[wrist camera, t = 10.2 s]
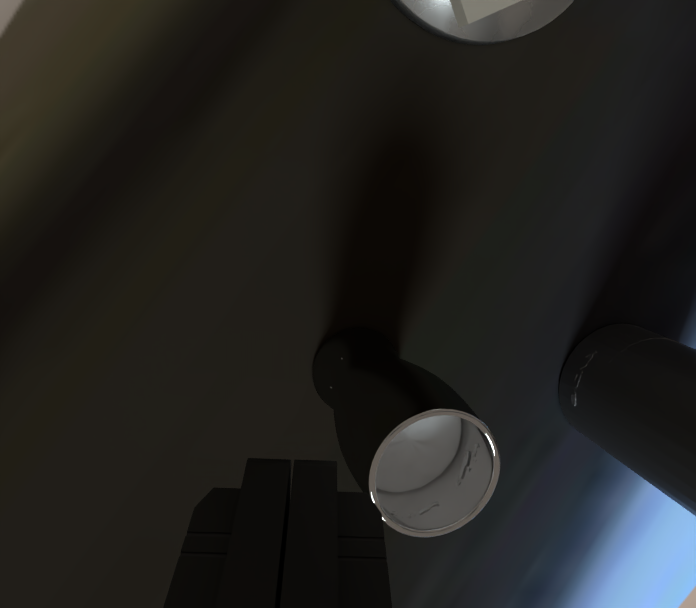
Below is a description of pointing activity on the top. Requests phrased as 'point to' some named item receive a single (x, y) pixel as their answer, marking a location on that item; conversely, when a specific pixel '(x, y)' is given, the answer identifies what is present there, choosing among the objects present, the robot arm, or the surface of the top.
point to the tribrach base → (482, 20)
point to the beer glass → (405, 435)
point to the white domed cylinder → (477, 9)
